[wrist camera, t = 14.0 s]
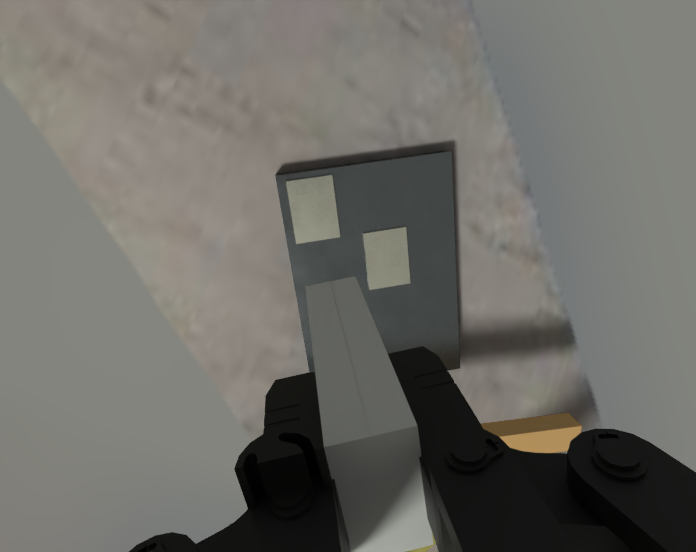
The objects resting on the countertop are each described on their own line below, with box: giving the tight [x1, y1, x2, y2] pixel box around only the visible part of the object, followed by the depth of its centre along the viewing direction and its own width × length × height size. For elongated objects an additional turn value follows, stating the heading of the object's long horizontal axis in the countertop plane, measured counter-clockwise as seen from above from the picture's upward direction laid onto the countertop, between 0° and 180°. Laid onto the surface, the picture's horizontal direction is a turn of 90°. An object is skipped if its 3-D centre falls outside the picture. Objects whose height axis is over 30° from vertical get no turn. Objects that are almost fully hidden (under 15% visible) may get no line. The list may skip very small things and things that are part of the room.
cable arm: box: [481, 413, 582, 453], centre depth 37 cm, size 24×4×2 cm, turn 92°
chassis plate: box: [276, 150, 460, 372], centre depth 38 cm, size 20×14×1 cm
